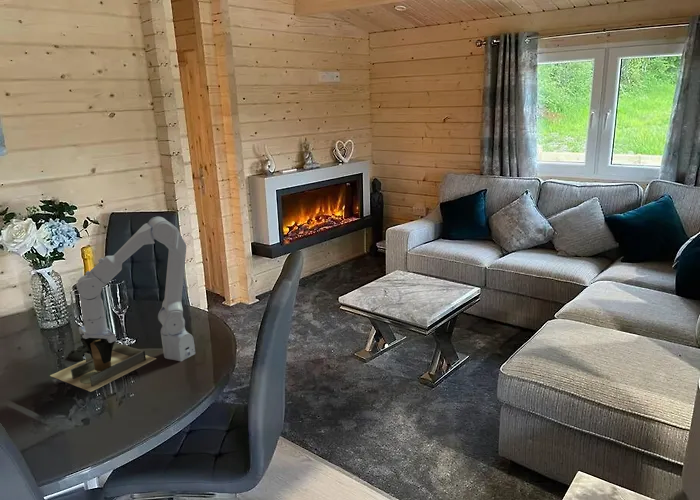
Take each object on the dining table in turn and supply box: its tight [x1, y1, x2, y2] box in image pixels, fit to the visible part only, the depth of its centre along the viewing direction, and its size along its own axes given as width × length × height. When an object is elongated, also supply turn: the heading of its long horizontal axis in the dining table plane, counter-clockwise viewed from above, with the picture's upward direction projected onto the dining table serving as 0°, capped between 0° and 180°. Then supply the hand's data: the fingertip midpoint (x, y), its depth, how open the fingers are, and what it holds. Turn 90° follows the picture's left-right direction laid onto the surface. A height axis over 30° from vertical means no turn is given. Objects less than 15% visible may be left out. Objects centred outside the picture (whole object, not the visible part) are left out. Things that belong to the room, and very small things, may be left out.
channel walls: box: [71, 341, 146, 387], centre depth 156 cm, size 16×18×3 cm
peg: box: [90, 339, 111, 371], centre depth 152 cm, size 4×4×8 cm
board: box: [49, 351, 157, 393], centre depth 157 cm, size 20×22×1 cm
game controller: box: [67, 344, 89, 363], centre depth 166 cm, size 10×5×6 cm
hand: (101, 360), depth 152 cm, fingers closed on peg, 4 cm apart
